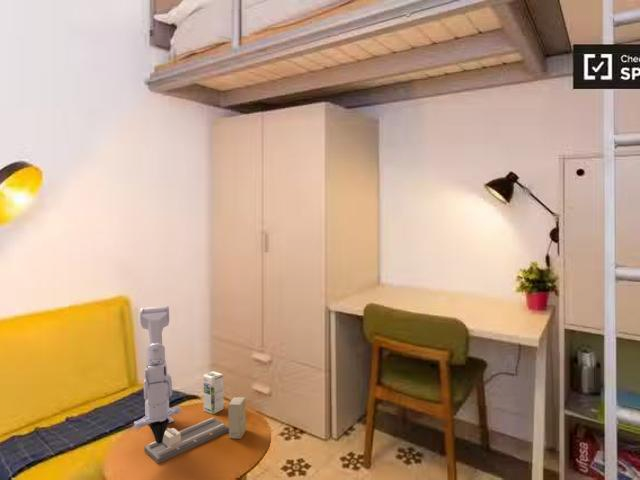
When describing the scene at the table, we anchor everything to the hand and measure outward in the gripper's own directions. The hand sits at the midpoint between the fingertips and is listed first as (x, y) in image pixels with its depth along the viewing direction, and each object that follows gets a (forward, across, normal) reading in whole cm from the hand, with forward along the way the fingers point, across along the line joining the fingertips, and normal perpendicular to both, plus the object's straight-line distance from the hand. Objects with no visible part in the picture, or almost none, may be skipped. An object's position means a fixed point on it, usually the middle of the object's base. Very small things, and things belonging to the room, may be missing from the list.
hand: (159, 441), depth 134 cm
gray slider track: (+4, +10, 0) cm, 11 cm away
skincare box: (+4, +24, -9) cm, 26 cm away
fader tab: (+2, +4, 0) cm, 5 cm away
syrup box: (+4, +28, +13) cm, 31 cm away
